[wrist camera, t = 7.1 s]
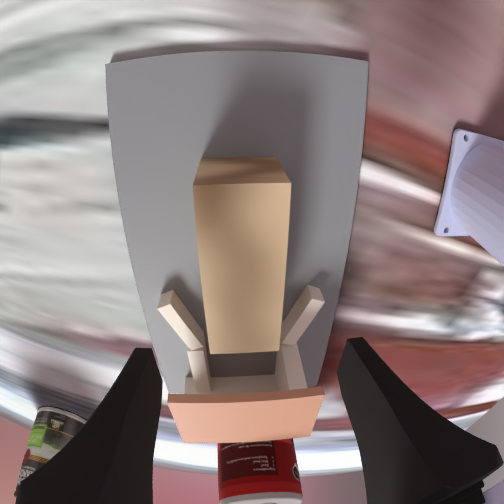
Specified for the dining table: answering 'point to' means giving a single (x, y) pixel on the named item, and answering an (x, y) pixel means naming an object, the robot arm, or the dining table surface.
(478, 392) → the dining table surface
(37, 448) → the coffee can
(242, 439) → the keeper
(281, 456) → the canned food
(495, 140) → the robot arm
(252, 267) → the tan cardboard block
